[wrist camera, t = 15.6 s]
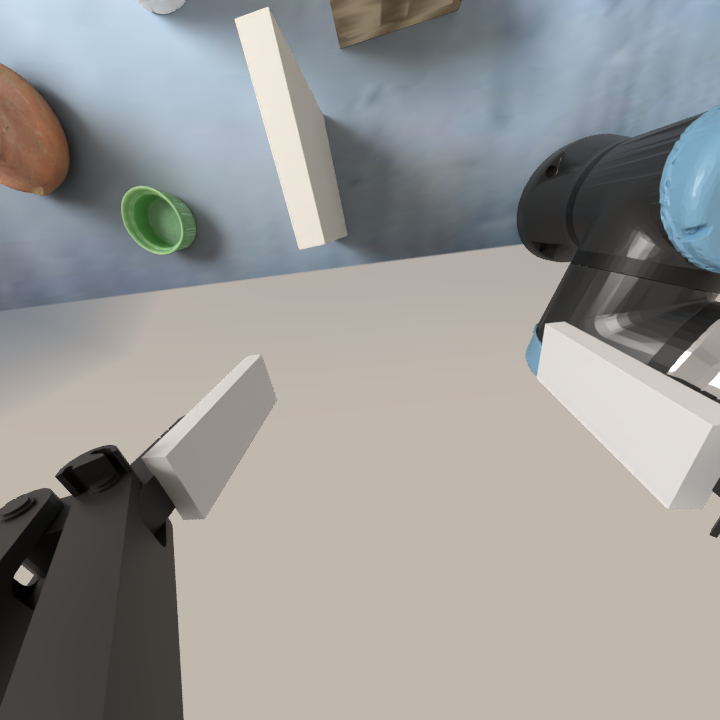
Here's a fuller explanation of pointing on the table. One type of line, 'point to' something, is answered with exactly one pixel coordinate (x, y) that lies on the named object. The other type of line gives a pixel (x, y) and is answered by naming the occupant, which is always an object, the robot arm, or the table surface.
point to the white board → (293, 132)
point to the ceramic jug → (29, 138)
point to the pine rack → (383, 16)
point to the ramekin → (157, 220)
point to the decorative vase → (161, 5)
